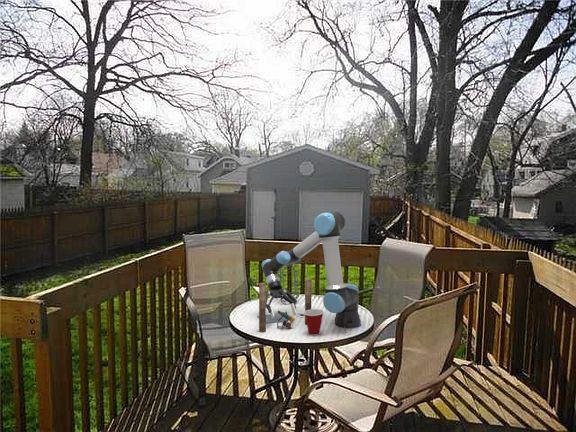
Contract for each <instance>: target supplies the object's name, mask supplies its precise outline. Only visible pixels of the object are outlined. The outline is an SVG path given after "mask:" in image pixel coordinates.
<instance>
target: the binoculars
mask: <svg viewBox="0 0 576 432" xmlns="http://www.w3.org/2000/svg"><path fill="white" fill-rule="evenodd" d="M277 313H279V314H280V315H281V316H282V317H284V318H286V321H282V322H281V323H282V325H281V326H283V327H282V328H281V327H279V323H280V322H279V320H280V319H282V317H281V318H280V319H279V320H278V322H276V326H277V328H278V329H280V330H284V329H285V328H286V329H288V330H289V329H291V328H292V323H294V322H295V320H296V319H295V317H293V316H292V315H290V314H288V311H285V310H284V312H283V311H281V310H277ZM277 313H276V314H277ZM288 320H289V321H288ZM289 322H290V323H289Z"/></svg>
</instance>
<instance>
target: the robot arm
mask: <svg viewBox="0 0 576 432" xmlns="http://www.w3.org/2000/svg"><path fill="white" fill-rule="evenodd" d="M313 227H314V230H315V231H313V233H311V234H310V235H309V236H308V237H306V238H305V239H303V240H302V241H300V242H299V243H298V244H297V245H296V246H295V247H293V248H291V250H288V251H289V252H286V251H287V250H286V251H285V250H282V251H280V252H278V253H277V254H276V255H275V256H274V257H273V258H271V259H270V258H267V259H265V260H263V261H262V262H261V268H262V269H261V270H262V272H263V276H264V278H265V281H266V286H267V288H268V290H266V310H267V311H268V313H269V314H271V317H272V319H273V318H274V314H275V313H274V310H273V307H272V305H271V304H272V303H273V301H274V299H280V298H282V299H283V300H284V299H285V300H284V301H286V303H288V304H289V305H290V307H291V310H292V314H293V316H294V317H295V316H296V315H297V313H298V312H297V310H296V309H297V306H296V304H297V302H298V299H296V298H294V297H295V296H294V295H293V294H291V293H292V292H290V290H289V289H288V288H285V289H284V290H283V285H282V282H281V283H280V276H279V277H278V270H280V269H281V268H282V269H283V267H286V265H291V264H293V265H294V263H295V264H296V263H297V262H299V263H300V261H301V260H302V259H301V258H303V257H304V256H306V255H307V254H308V253H310V252H311V251H313V250H314V249H315V248H316V247H319V245H321V244H322V249H323V258H324V266H325V267H324V268H325V274H326V282H327V283H326V286H325V287H324V288H325V289H324V291H325V294H324V296H323V298H322V303H323V307H324V308H325V309H326V310H327V311H328V312H330V313H333V314H335V316H334V320H333V321H334V322H333V323H334V325H335V326H336V327H339V328H348V329H352V328H353V329H354V328H358V327H361V325H362V321H361V317H360V313H359V286H358V285H357V284H353V283H345V282H344V279H343V273H342V272H343V271H342V270H343V269H342V264H341V253H340V244H339V238H340V237H341V231H343V230H344V228H345V227H346V218H345V216H344V215H343V213H340V212H338V211H331V212H330V211H329V212H322V213H319V215H317V216H316V217H315V218H314V222H313ZM300 259H301V260H300ZM282 269H281V270H282ZM283 292H284V293H283ZM269 295H271V297H270V300H269V301H268V299H269ZM293 296H294V297H293ZM282 299H281V300H282Z"/></svg>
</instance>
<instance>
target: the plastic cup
mask: <svg viewBox="0 0 576 432" xmlns="http://www.w3.org/2000/svg"><path fill="white" fill-rule="evenodd" d="M324 313H325V311H324V310H323V309H320V308H311V310H307V311H305V310H304V311H303V315H304V318H305V317H306V321H307V325H306V326H307V331H308V334H309V335H311V336H319V334H320V332H321V327H322V322H323V315H324Z"/></svg>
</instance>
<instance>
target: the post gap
mask: <svg viewBox="0 0 576 432" xmlns="http://www.w3.org/2000/svg"><path fill="white" fill-rule="evenodd" d="M304 282H305V283H304V285H305V286H304V312H305V311H307V310H311V309H312V285H313V284H312V283H313V279H312V278H305V279H304ZM266 291H267V282H266V283H265V282H259V283H258V294H259V295H258V316H259V318H258V332H260V333H266V331H267V330H266V329H267V328H266V327H267V326H266V325H267V324H266V315H267V308H266ZM304 325H305V326H307V321H306V317H305V316H304Z"/></svg>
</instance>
